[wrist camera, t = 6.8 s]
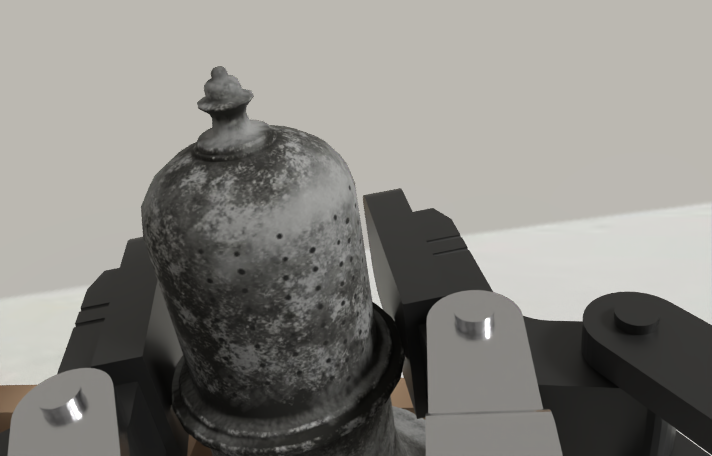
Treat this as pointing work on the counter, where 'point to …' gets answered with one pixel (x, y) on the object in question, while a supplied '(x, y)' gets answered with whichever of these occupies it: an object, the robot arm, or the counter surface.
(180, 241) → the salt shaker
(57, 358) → the counter surface
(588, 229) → the counter surface
